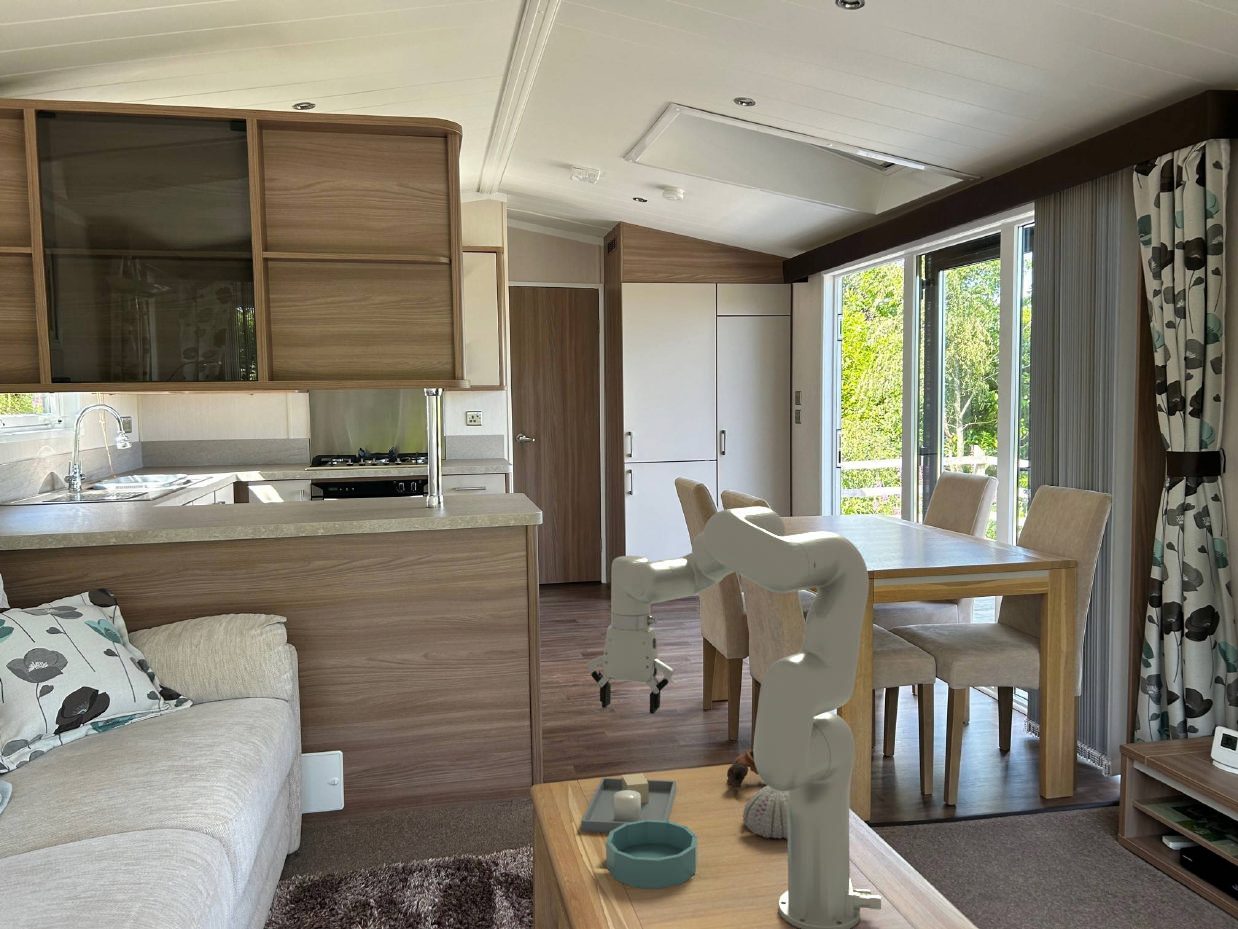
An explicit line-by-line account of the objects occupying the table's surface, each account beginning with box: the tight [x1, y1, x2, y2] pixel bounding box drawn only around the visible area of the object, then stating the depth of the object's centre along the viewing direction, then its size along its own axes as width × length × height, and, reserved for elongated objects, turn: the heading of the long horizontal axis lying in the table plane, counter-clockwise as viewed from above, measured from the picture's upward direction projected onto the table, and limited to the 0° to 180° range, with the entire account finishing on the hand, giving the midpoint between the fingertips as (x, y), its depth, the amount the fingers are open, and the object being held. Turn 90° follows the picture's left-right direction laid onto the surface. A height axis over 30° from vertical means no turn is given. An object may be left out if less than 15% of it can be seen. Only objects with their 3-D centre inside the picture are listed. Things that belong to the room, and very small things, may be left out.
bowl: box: [605, 820, 699, 890], centre depth 158 cm, size 16×16×5 cm
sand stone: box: [621, 772, 649, 803], centre depth 187 cm, size 4×6×4 cm
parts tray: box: [580, 777, 678, 833], centre depth 181 cm, size 16×22×2 cm
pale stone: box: [614, 790, 641, 822], centre depth 176 cm, size 5×5×5 cm
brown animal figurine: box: [726, 749, 768, 789], centre depth 193 cm, size 12×10×8 cm
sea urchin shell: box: [742, 786, 789, 840], centre depth 173 cm, size 13×14×8 cm
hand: (629, 708), depth 174 cm, fingers open, 9 cm apart
